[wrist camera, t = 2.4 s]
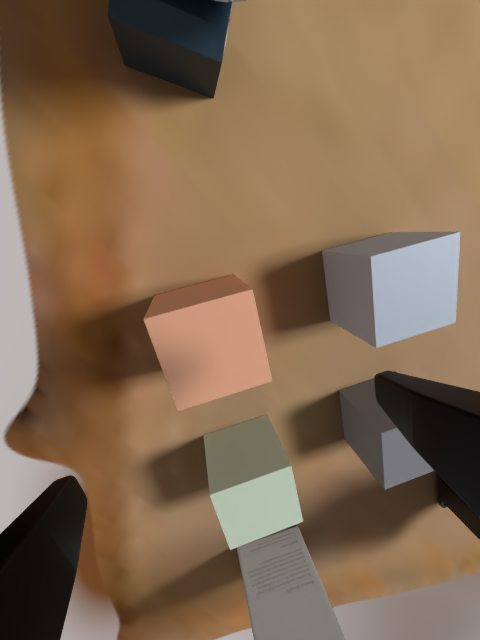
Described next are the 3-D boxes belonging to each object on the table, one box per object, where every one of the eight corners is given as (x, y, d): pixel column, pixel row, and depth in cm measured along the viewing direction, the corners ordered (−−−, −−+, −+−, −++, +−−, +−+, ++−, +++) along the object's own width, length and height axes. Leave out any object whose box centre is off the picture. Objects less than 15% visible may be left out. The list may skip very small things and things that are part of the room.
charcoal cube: (394, 370, 22) (451, 407, 17) (396, 419, 24) (448, 465, 19) (338, 389, 21) (381, 433, 17) (344, 438, 23) (384, 489, 18)
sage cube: (266, 413, 21) (291, 465, 16) (278, 461, 22) (303, 521, 18) (203, 434, 20) (209, 495, 16) (219, 482, 22) (230, 550, 17)
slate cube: (389, 232, 18) (460, 231, 14) (391, 301, 20) (455, 322, 15) (321, 250, 18) (370, 256, 13) (329, 320, 19) (376, 347, 15)
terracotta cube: (233, 274, 17) (252, 289, 12) (250, 344, 19) (272, 381, 14) (154, 295, 16) (143, 319, 12) (179, 365, 18) (177, 411, 13)
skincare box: (243, 573, 26) (290, 842, 14) (234, 542, 24) (280, 814, 13) (304, 551, 26) (394, 789, 15) (299, 519, 25) (396, 757, 14)
